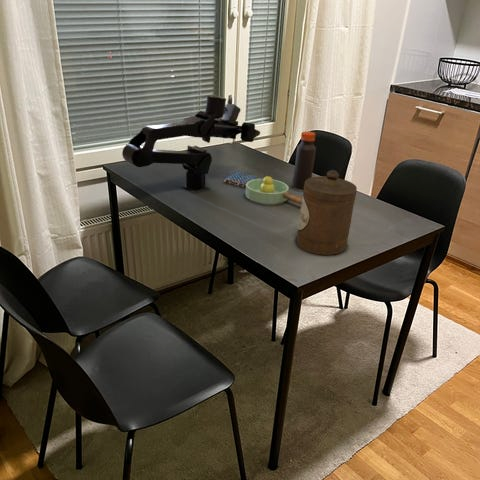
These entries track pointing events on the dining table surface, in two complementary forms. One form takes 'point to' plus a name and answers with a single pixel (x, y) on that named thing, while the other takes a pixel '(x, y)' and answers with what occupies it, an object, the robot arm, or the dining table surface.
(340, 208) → the wooden container
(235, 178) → the woven mat
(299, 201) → the pan handle
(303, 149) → the bottle
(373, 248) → the dining table surface
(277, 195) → the pan
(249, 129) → the robot arm
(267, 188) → the pear
